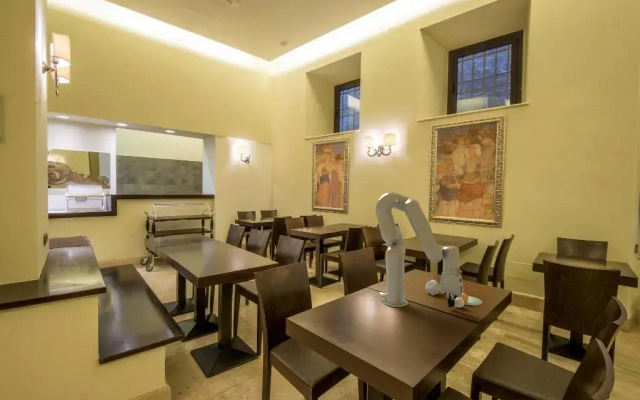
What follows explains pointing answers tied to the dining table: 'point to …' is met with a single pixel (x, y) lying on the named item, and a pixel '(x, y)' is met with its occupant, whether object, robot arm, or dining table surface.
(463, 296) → the object ball
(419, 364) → the dining table surface
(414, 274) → the dining table surface
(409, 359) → the dining table surface
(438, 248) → the robot arm
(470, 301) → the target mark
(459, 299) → the cue ball
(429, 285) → the die
